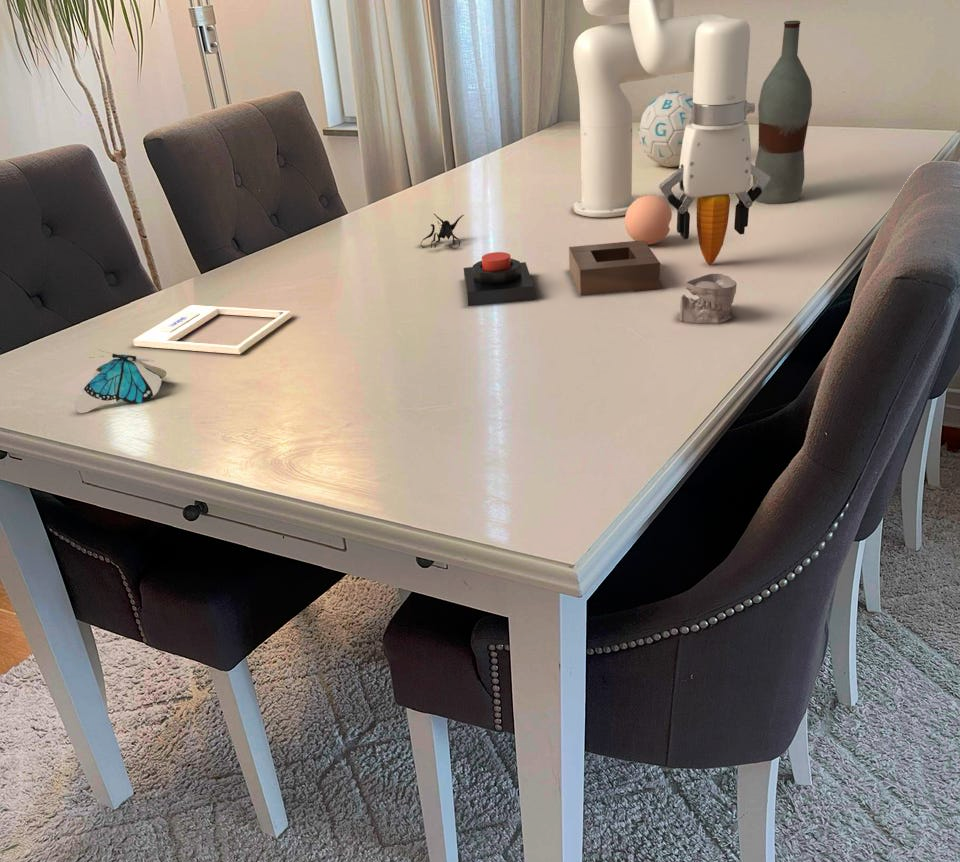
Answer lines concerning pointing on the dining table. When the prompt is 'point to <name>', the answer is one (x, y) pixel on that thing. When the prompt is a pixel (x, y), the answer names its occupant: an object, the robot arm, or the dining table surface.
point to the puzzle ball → (666, 127)
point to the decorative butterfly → (120, 383)
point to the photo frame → (198, 315)
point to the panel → (498, 284)
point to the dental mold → (708, 299)
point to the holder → (614, 267)
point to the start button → (496, 261)
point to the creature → (443, 231)
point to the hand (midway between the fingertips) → (711, 233)
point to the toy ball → (648, 219)
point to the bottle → (784, 123)
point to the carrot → (712, 224)
